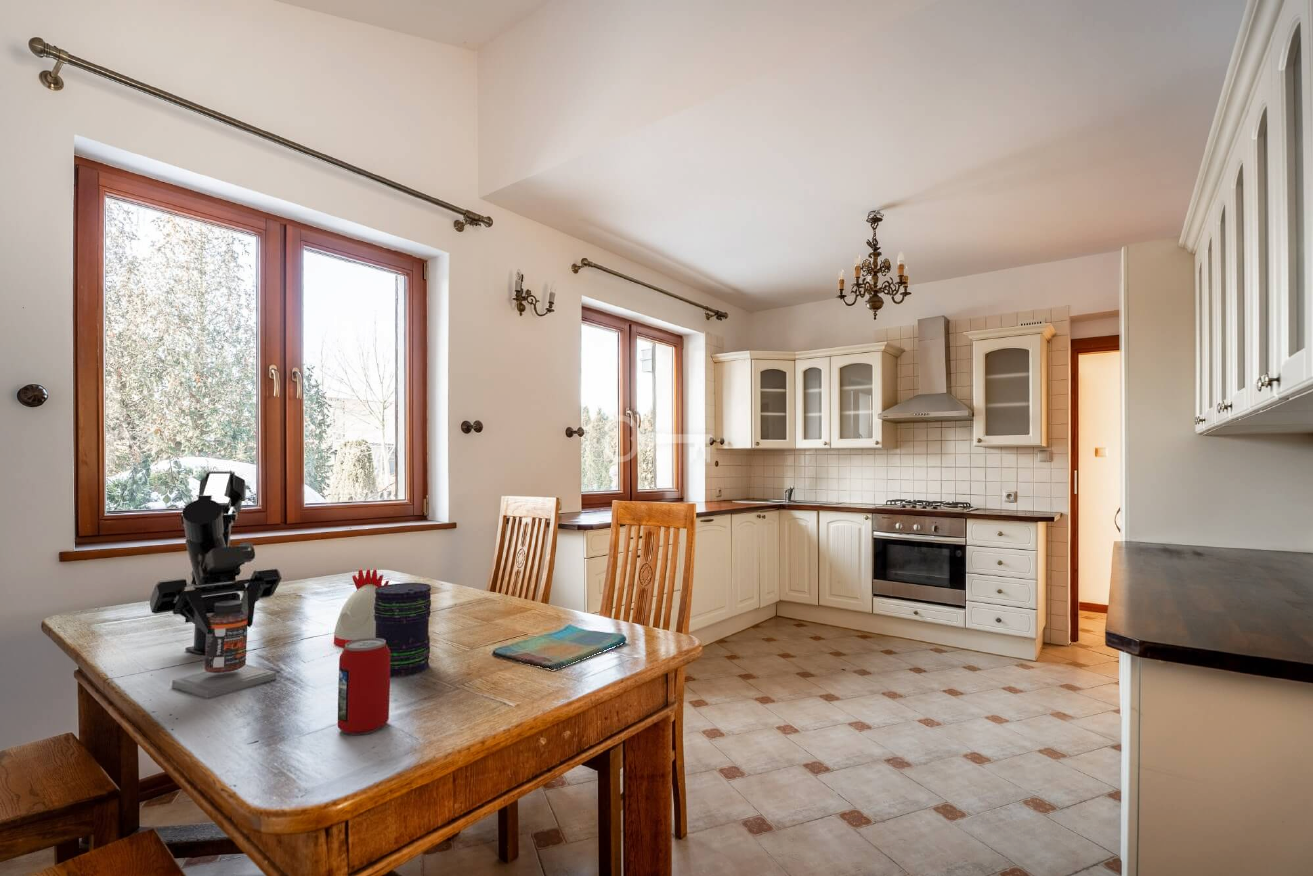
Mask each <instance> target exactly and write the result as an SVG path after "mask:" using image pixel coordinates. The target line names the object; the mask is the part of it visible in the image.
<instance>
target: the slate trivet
mask: <svg viewBox="0 0 1313 876" xmlns="http://www.w3.org/2000/svg"><path fill="white" fill-rule="evenodd" d="M276 679H277V671H274V670H270V669H266V668H262V667H258V666H254V665H251V664H245V665H244V666H243V667H242V668H240V669H238V670H234V671H230V672H223V673H211V672H207V671H206V670H205V671H202V672H199V673H194V674H191V675H187V676H182V677H179V678H175V679H171V680H172V681H171V688H173V689H176V690H179V691H182V692H185V693H189V694H193V695H195V696H198V697H201V698H205V699H208V700H209V699H212V698H216V697H219V696H222V695H225V694H228V693H234V692H236V691H239V690H244V689H246V688H250V687H253V686H257V685H260V684H264V683H267V682H270V681H275V680H276Z"/></svg>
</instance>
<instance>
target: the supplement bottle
mask: <svg viewBox="0 0 1313 876" xmlns="http://www.w3.org/2000/svg"><path fill="white" fill-rule="evenodd" d="M241 609H242V602H241V600H240V601H222V602H218V603H215V605H214V611H215V612H214V614H213V615H212V616H211V617H209V618H208V620H209V623H210V628H211V632H210V634H206V648H205V654H204V670H205V672H206V671H207V672H211V673H223V672H230V671H234V670H238V669H240V668H242V667H243V666H244V665H245V664H246V663H247V643H248V626H247V625H248V624H247V622H248V617H247V615H246V614H245V613H243V612H242V610H241Z"/></svg>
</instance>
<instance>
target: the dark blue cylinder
mask: <svg viewBox="0 0 1313 876" xmlns="http://www.w3.org/2000/svg"><path fill="white" fill-rule="evenodd" d="M383 585H384V584H383ZM383 585H382V586H380V587H377V588H376V589H375V594H376V597H375V603H374V610H375V614H374V620H375V621H376V631H375V638H381V639H384V640H385V641H386V645H387V646H388V648H389V650H390V679H395V678H396V679H397V678H405V677H411V676H416V675H419V674H422V673H424V672H426V671H427V670H429V668H430V663H429V660H430V653H431V645H430V644H431V643H430V642H431V639H430V636H429V633H430V632H429V631H430V630H429V629H430V628H429V626H430V625H429V623H430V617H431V607H432V599H431V598H432V596H431V595H432V594H431V590H432V587H431V586H432V585H430V584H429V583H422V582H421V583H420V582H400V583H392V584H391V583H390V584H388V585H384V586H383Z"/></svg>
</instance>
